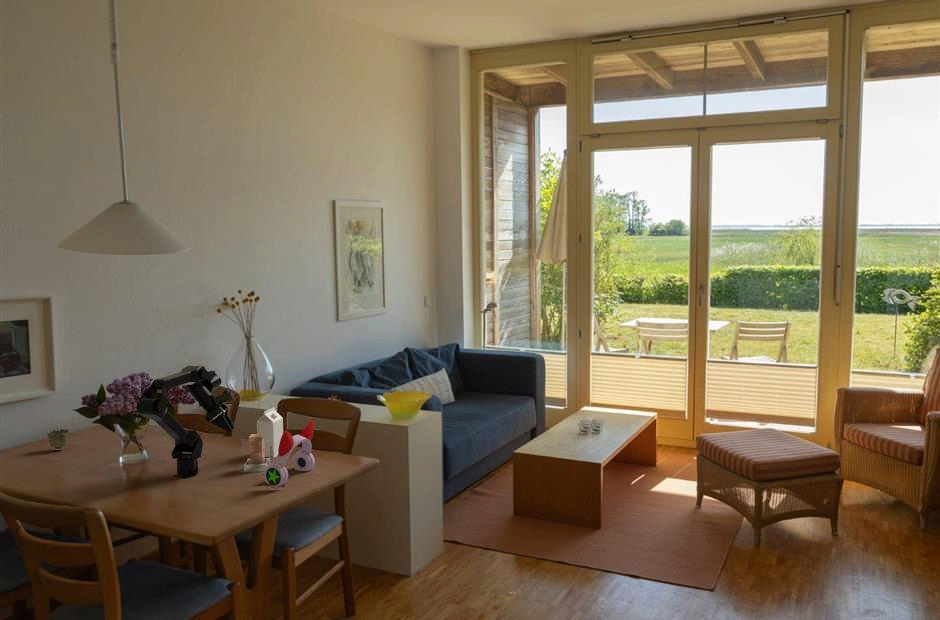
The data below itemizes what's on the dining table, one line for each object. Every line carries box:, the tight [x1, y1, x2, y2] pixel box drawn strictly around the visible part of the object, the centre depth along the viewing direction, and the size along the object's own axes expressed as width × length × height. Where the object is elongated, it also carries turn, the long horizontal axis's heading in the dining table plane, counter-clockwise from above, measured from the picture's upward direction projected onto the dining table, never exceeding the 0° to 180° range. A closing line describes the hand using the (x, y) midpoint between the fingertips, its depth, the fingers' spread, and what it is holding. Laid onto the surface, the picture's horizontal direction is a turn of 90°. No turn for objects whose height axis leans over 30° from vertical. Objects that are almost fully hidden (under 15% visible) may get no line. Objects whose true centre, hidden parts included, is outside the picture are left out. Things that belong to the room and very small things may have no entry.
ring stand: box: [232, 446, 275, 476], centre depth 275 cm, size 12×12×10 cm
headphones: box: [263, 418, 316, 488], centre depth 266 cm, size 20×10×20 cm, turn 159°
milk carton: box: [256, 406, 284, 458], centre depth 293 cm, size 7×7×19 cm
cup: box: [47, 428, 69, 450], centre depth 307 cm, size 8×7×8 cm
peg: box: [248, 433, 266, 464], centre depth 275 cm, size 4×4×12 cm
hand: (232, 429), depth 281 cm, fingers open, 9 cm apart
